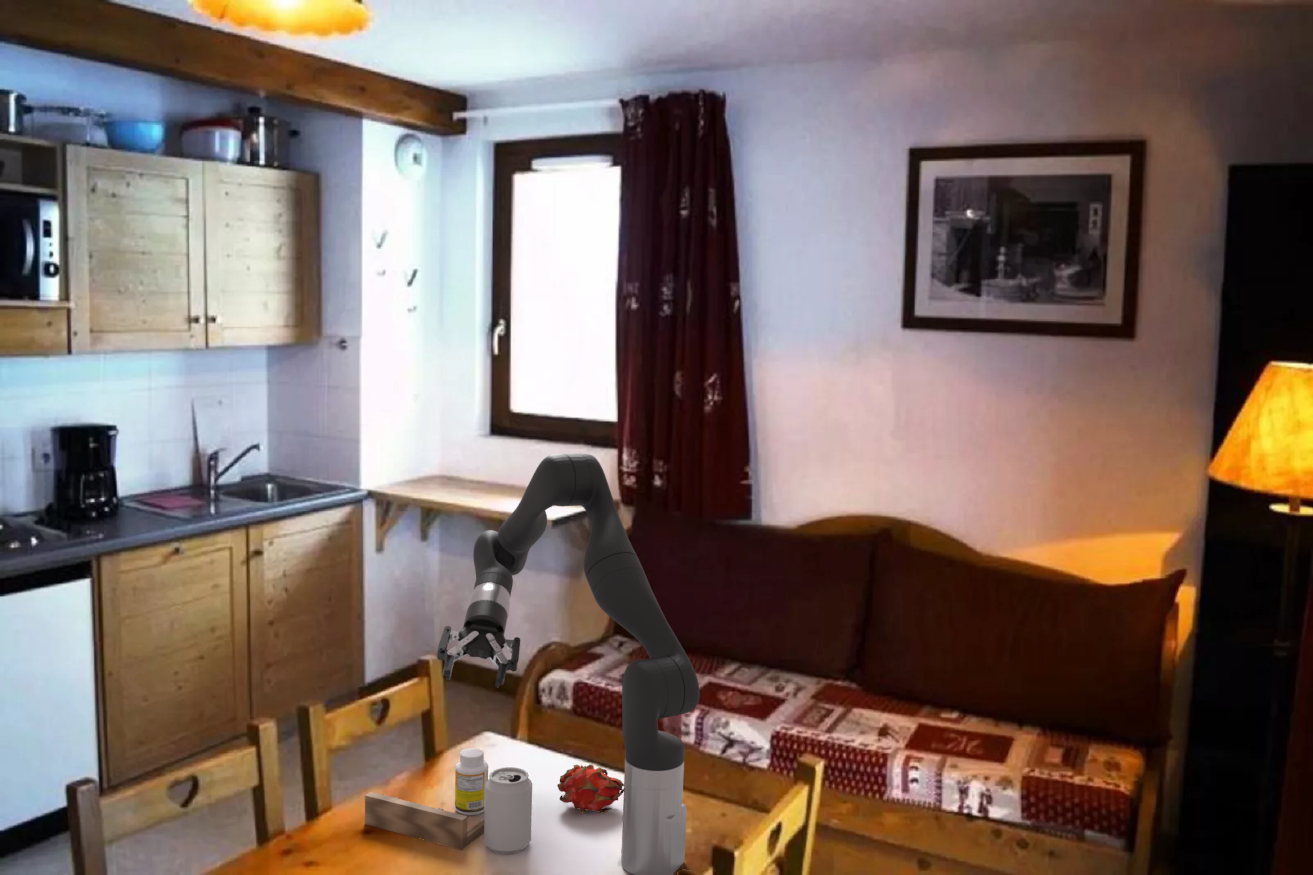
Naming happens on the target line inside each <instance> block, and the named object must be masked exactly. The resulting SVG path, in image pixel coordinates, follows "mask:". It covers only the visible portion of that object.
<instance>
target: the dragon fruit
mask: <svg viewBox="0 0 1313 875" xmlns="http://www.w3.org/2000/svg"><path fill="white" fill-rule="evenodd" d="M580 765H581V766H580ZM580 765H579V764H574V765H573V767H572V768H569V769H567V770H566V771H565V773H564V774H562V775H560V777H559V783H558V784H557V789H558V790H559V792H562V793H564V795H563V794H561V795H560V796H559V801H561V802H562V803H564V804H570V803H571V804H573V807H574V809H575V810H577V809H579V811H580V812H581V814H582V815H585V814H587V812H588V811H593V812H597V813H600V814H605V813H606V812H609V811H610V810H612V807H607V806H611V805H612V804H614V802H616V801H619V797H620V796H622V795H623V794H624V788H623V787H624V782H623V781H622V780H621V779H619V778H617V777H611V776H609V775H608V774H609V773H608V771H607V769H604V768H602V767H598V768H595V767H594V765H593V764H589V765H587V766H586V765H584V766H583V765H582V764H580Z"/></svg>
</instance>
